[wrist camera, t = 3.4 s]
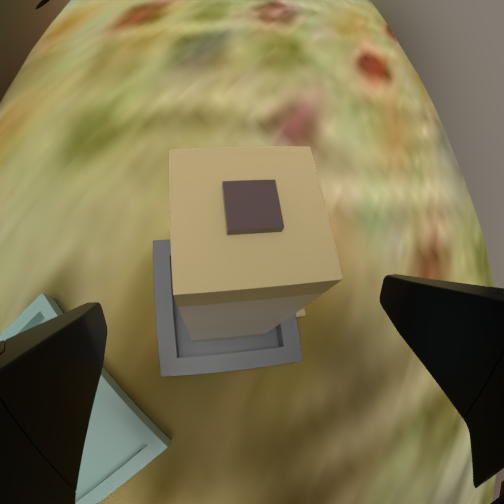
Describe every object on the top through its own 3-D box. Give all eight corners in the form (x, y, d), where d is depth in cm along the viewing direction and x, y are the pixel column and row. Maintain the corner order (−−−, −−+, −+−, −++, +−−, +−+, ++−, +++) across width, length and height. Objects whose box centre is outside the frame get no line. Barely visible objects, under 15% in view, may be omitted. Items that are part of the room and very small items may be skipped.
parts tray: (171, 440, 16) (168, 446, 15) (60, 526, 12) (51, 535, 11) (54, 299, 18) (42, 292, 17) (-37, 395, 14) (-52, 394, 13)
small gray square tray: (310, 359, 19) (319, 358, 18) (164, 376, 18) (161, 376, 16) (290, 241, 22) (297, 231, 21) (156, 250, 21) (152, 240, 19)
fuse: (262, 335, 19) (347, 275, 8) (192, 342, 18) (172, 291, 7) (253, 269, 21) (312, 140, 9) (186, 274, 20) (168, 143, 9)
